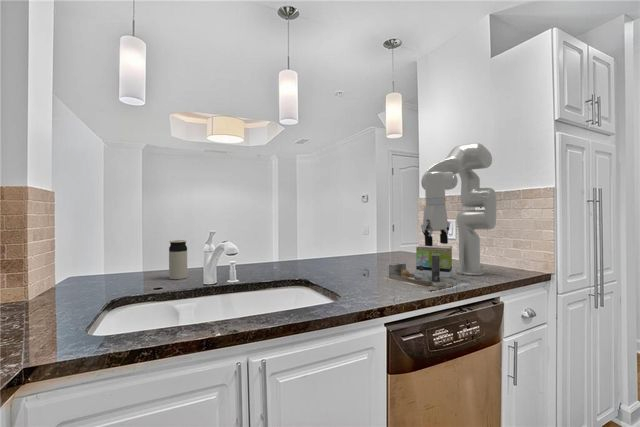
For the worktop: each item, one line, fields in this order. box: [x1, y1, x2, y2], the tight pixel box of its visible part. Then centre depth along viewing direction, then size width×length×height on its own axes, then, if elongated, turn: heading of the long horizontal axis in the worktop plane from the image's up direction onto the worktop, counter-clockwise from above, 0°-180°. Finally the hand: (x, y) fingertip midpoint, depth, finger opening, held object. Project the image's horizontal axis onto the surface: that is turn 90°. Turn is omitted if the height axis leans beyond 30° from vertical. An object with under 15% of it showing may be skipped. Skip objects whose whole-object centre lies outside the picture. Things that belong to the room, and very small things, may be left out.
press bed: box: [383, 262, 454, 293], centre depth 137 cm, size 14×26×7 cm, turn 34°
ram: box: [414, 255, 449, 288], centre depth 131 cm, size 7×12×12 cm, turn 34°
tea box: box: [415, 244, 453, 278], centre depth 152 cm, size 15×10×15 cm
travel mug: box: [168, 239, 188, 280], centre depth 153 cm, size 8×8×18 cm
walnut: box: [401, 269, 410, 278], centre depth 142 cm, size 4×4×4 cm
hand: (436, 244), depth 129 cm, fingers open, 9 cm apart
